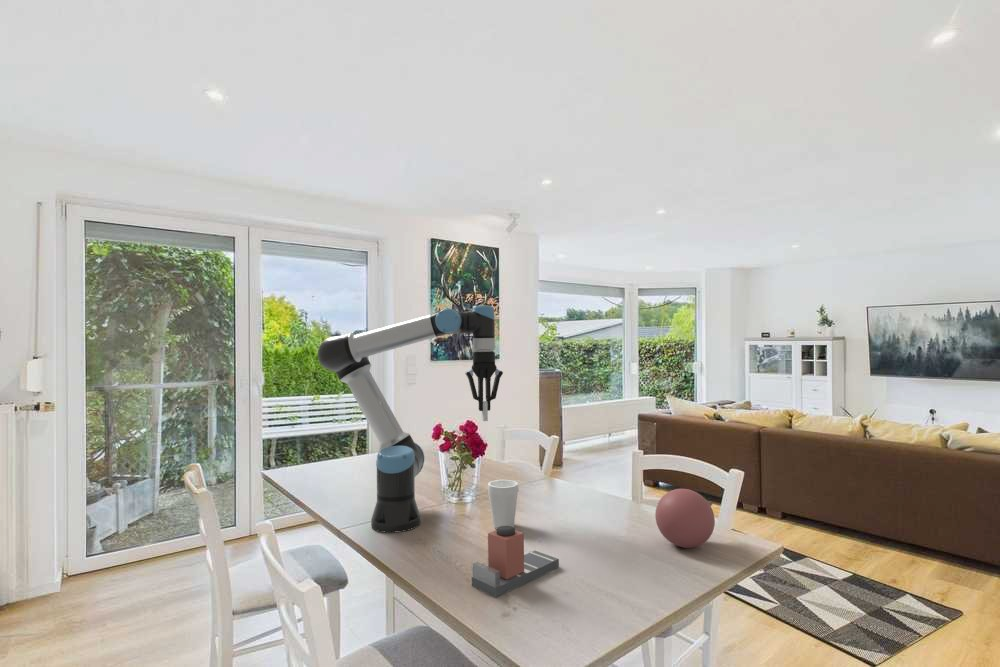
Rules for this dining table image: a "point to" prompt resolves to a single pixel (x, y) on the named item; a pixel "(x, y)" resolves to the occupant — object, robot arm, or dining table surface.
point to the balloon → (685, 518)
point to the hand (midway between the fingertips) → (484, 420)
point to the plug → (506, 551)
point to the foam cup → (503, 501)
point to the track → (496, 585)
